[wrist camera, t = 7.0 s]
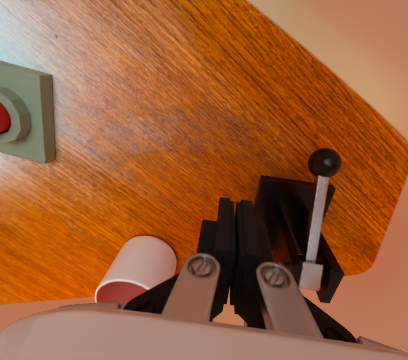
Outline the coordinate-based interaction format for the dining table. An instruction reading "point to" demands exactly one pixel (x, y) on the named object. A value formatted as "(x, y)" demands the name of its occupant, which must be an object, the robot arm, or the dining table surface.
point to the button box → (27, 113)
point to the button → (4, 118)
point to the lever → (317, 215)
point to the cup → (137, 269)
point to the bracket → (294, 228)
